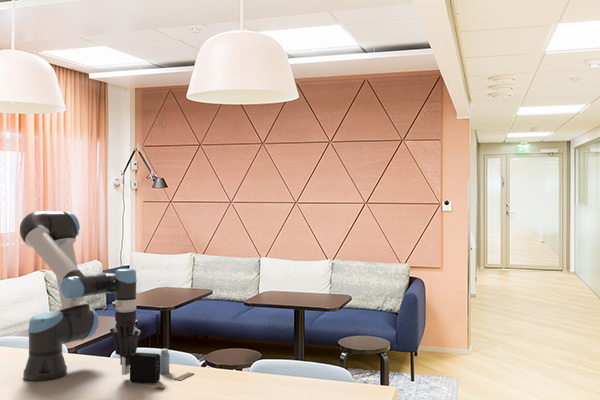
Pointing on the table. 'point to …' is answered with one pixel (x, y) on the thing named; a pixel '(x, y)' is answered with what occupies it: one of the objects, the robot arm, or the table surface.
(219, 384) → the table surface
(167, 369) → the marker peg
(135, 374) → the electronic device
